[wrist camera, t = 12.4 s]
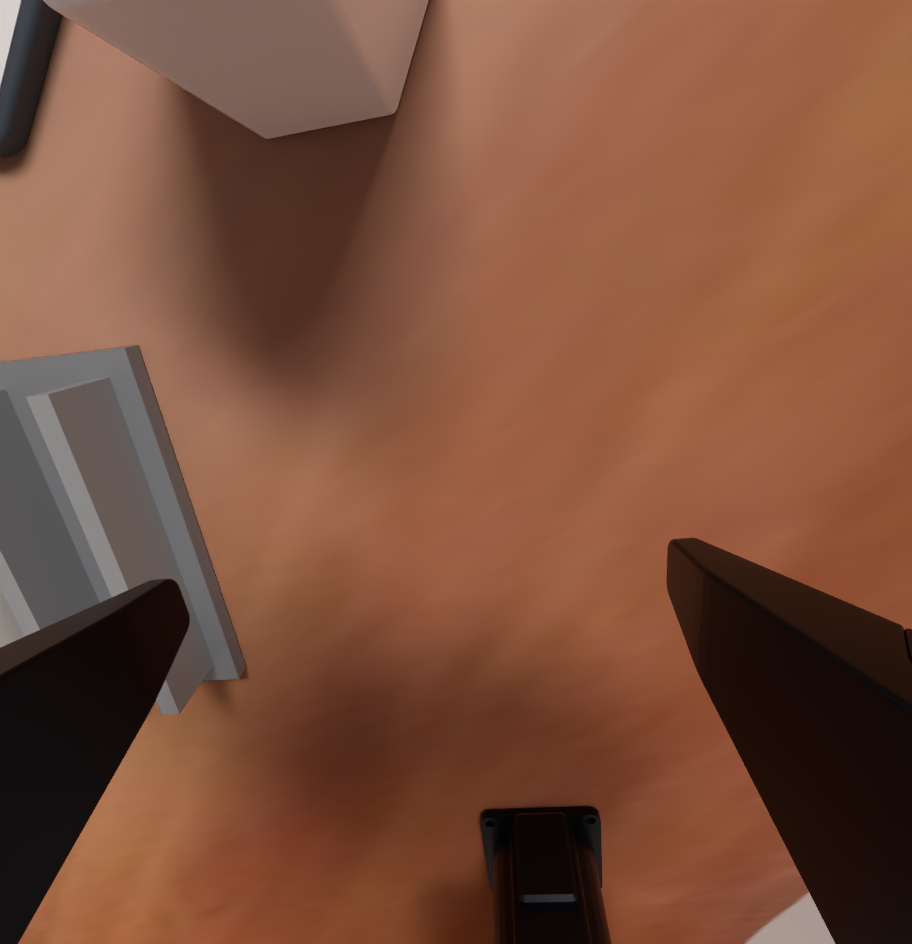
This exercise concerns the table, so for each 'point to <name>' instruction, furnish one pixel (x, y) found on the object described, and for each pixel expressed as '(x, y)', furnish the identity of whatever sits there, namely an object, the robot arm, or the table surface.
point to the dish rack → (102, 506)
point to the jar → (268, 54)
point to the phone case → (23, 66)
